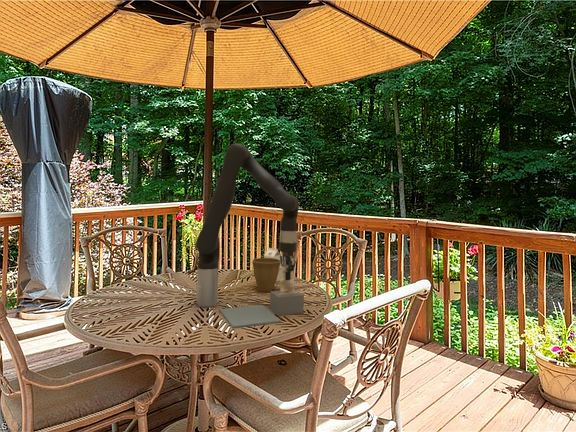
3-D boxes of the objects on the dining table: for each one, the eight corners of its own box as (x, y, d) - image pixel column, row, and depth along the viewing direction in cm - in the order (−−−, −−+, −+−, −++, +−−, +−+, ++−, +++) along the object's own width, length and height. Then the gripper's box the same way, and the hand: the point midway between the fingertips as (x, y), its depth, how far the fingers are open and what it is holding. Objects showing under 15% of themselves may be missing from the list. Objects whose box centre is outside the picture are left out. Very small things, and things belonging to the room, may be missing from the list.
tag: (281, 294, 178) (280, 267, 177) (280, 293, 180) (279, 266, 178) (294, 291, 181) (292, 265, 179) (292, 290, 182) (291, 264, 181)
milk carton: (271, 278, 238) (272, 246, 237) (280, 280, 234) (281, 248, 232) (263, 281, 233) (264, 248, 231) (272, 283, 228) (273, 249, 227)
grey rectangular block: (277, 315, 174) (278, 296, 173) (269, 308, 183) (270, 290, 182) (303, 312, 178) (303, 293, 178) (294, 306, 188) (294, 287, 187)
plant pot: (279, 294, 206) (280, 263, 205) (250, 293, 207) (250, 262, 205) (280, 286, 221) (281, 257, 220) (253, 285, 222) (253, 257, 220)
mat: (232, 328, 158) (232, 326, 158) (219, 311, 178) (219, 309, 178) (280, 322, 166) (280, 320, 166) (262, 306, 186) (262, 304, 186)
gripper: (274, 238, 183) (273, 276, 184) (286, 243, 170) (285, 284, 172) (289, 238, 186) (288, 275, 187) (302, 242, 173) (301, 282, 175)
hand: (286, 279), depth 179 cm, fingers closed on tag, 1 cm apart
